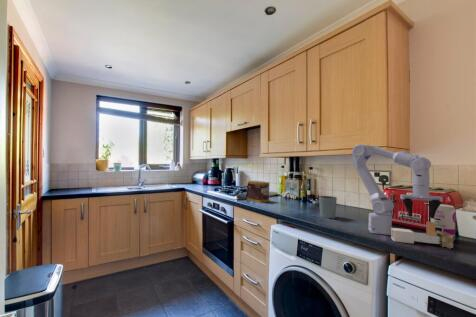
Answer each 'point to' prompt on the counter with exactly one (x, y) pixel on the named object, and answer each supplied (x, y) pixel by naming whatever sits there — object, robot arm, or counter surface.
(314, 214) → the counter surface
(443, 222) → the supplement can
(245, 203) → the counter surface
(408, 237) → the white rectangular block
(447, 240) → the oak socket
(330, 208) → the grey tapered cup
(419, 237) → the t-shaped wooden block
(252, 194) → the supplement box
